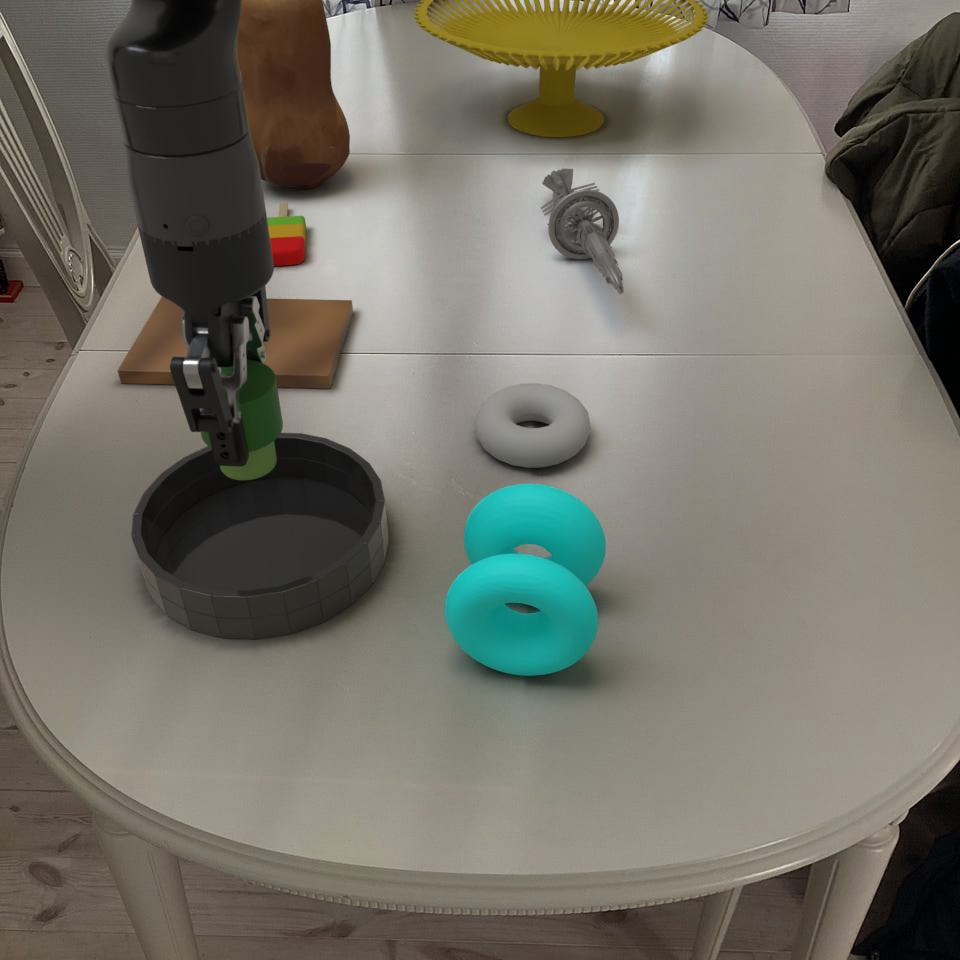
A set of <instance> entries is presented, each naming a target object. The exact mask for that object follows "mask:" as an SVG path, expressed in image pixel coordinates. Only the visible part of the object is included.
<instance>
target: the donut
mask: <svg viewBox="0 0 960 960" xmlns="http://www.w3.org/2000/svg"><path fill="white" fill-rule="evenodd" d="M524 422H539V423H544V424H546V425H545V426H542V427H525V426H521V425H518V424H520V423H524ZM474 426H475V427H474V428H475V436H476V438H477V439H478V441H479V443H480V444H481V446H482V448H483V449H484V450H485V451H486V452H487V453H489V454H490V455H491V456H492V457H494V458H495V459H497V460H498V461H501V462H503V463H506V464H508V465H511V466H514V467H519V468H526V469H536V468H537V469H538V468H540V469H541V468H547V467H552V466H555V465H559V464H560V465H561V464H562V463H564V462H566V461H568V460H570V459H571V458H573V457H575V456H576V455H577V454H578V453H579V452H580V451H581V450H582V449H583V448H584V447H585V445H586V444H587V441H588V438H589V435H590V432H591V429H592V428H591V427H592V426H591V420H590V417H589V412H588V410H587V408H586V407H585V405H583V403H582V402H581V400H580V399H579V398H577V397H576V396H574V395H573V394H571V393H570V392H568V391H567V390H565V389H563V388H560V387H557V386H554V385H550V384H545V383H544V384H543V383H537V382H535V383H532V382H531V383H529V382H528V383H518V384H514V385H509V386H506V387H504V388H501V389H499V390H497V391H496V392H494V393H492V394H490V396H488V397H487V398H486V399H485V400H484V401H483V402H482V403H481V405H480V407H479V409H478V410H477V413H476V415H475V419H474Z"/></svg>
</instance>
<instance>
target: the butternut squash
mask: <svg viewBox="0 0 960 960" xmlns="http://www.w3.org/2000/svg"><path fill="white" fill-rule="evenodd" d="M237 53H238V60H239V65H240V70H241V76H242V84H243V91H244V97H245V104H246V111H247V118H248V124H249V129H250V134H251V138H252V142H253V146H254V149H255V152H256V155H257V159H258V163H259V168H260V174H261V181H263V182H266V183H268V184H270V185H272V186H275V187H278V188H295V189H298V190H303V191H307V190H311V189H313V188H317V187H321V186H322V185H323V184H325V182H327V181H328V180H329V179H330V178H332V177H333V176H334V175H335V174H336V173H337V172H339V171H340V170H341V169H342V167H343V166H344V165H345V163H346V162H347V160H348V158H349V156H350V153H351V152H350V151H351V150H350V149H351V148H350V144H351V143H350V142H351V135H350V128H349V125H348V121H347V118H346V116H345V113H344V111H343V109H342V107H341V105H340V103H339V101H338V99H337V97H336V95H335V92H334V90H333V89H334V88H333V85H332V84H333V83H332V43H331V36H330V29H329V25H328V19H327V16H326V10H325V6H324V2H323V0H242V7H241V17H240V25H239V33H238V45H237Z"/></svg>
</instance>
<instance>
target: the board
mask: <svg viewBox="0 0 960 960" xmlns="http://www.w3.org/2000/svg"><path fill="white" fill-rule="evenodd" d="M353 306H354V305H353V300H352V299H315V298H314V299H313V298H310V299H309V298H267V308H268V318H269V328H270V331H271V335H270V338H269V341H268V342H263V345H264V348H265V351H266V358H265V362H264V363H263V364H265V365H267V366H269V367H270V368H271V369H272V370H273V372H274V373H275V376H276V382H277V388H287V389H288V388H289V389H290V388H293V389H294V388H295V389H297V388H298V389H328V390H329V389H331V387H332V384H333V381H334V377H335V374H336V371H337V367H338V364H339V361H340V357H341V354H342V350H343V348H344V344H345V341H346V338H347V334H348V330H349V328H350V324H351V321H352V318H353V314H354V307H353ZM184 314H185V312H184V311H183V309H181V308H180V307H179V306H178V305H176V304H175V303H173V302H171V301H170V300H167V299H165V298H164V297H162V296H161V297H160V299H159V300H158V302H157V304H156V306H155V307H154V309H153V310H152V312H151V314H150V316H149V317H148V319H147V320H146V322H145V323H144V326H143V327H142V329H141V331H140V332H139V333H138V335H137V337H136V338H135V340H134V342H133V344H132V345H131V347H130V349H129V350H128V352H127V354H126V356H125V357H124V358H123V360H122V362H121V364H120V365H119V366H118V369H117V373H118V377H119V381H120V383H121V384H130V385H131V384H133V385H141V384H142V385H169V386H171V385H172V386H175V383H174V380H173V377H172V374H171V370H170V364H171V360H172V358H173V357H186V356H187V345H186V343H185V342H184V340H183V335H182V319H183V316H184Z"/></svg>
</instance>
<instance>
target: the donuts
mask: <svg viewBox="0 0 960 960" xmlns="http://www.w3.org/2000/svg"><path fill="white" fill-rule="evenodd" d="M523 545H524V546H525V545H532V546H537V547H540V548H541V549H544V550H545V551H546V552H548V553H549V554H550V556H546V557H541V556H538V555H534V554H533V555H532V554H528V553H527V554H526V553H522V552H519V551H517V550H516V549H515V548H517V547H519V546H523ZM463 546H464V550H465V554H466V557H467V559H468V561H469V563H470V565H469V566H467V567H466V568H465V569H464V570H463V571H461V572H460V573H459V574H458V575H457V577H456V578H455V579H454V580H453V581H452V583H451V585H450V587H449V589H448V591H447V594H446V596H445V603H444V616H445V622H446V623H445V624H446V626H447V628H448V631H449V633H450V635H451V636H452V639H453V640H454V641H455V643H456V644H457V645H458V647H460V649H462V651H463V652H465V653H466V654H467V655H468V656H469V657H470V658H472V659H473V660H475V661H477V662H478V663H480V664H482V665H483V666H486V667H488V668H490V669H492V670H495V671H498V672H501V673H505V674H510V675H513V676H526V677H537V676H544V675H550V674H553V673H556V672H560V671H563V670H565V669H567V668H569V667H571V666H573V665H574V664H576V663H578V662H579V661H580V660H581V659H582V658H583V657H584V656H585V655H586V654H587V653H588V652H589V650H590V649H591V647H592V646H593V644H594V641H595V640H596V637H597V633H598V628H599V614H598V608H597V604H596V602H595V600H594V598H593V596H592V594H591V592H590V590H589V588H588V587H587V586H588V585H589V584H590V583H591V582H592V581H593V580H594V579H595V578H596V576H597V575H598V574H599V572H600V570H601V568H602V566H603V564H604V561H605V557H606V551H607V550H606V549H607V541H606V536H605V532H604V529H603V527H602V523H601V522H600V519H598V517H597V516H596V514H595V513H594V511H593V510H592V509H591V508H590V507H589V506H588V505H587V504H586V503H585V502H583V501H582V500H581V499H580V498H578V497H577V496H575V495H574V494H572V493H570V492H568V491H566V490H563V489H561V488H559V487H555V486H551V485H548V484H542V483H541V484H540V483H516V484H511V485H506V486H504V487H501V488H499V489H496V490H494V491H492V492H490V493H488V494H487V495H485V497H483V498H482V499H480V500H479V501H478V502H477V504H476V505H475V506H474V507H473V508H472V510H471V511H470V513H469V515H468V517H467V519H466V522H465V525H464V529H463ZM511 603H512V604H513V603H515V604H524V605H528V606H530V607H534V608H536V609H537V610H538V611H536V612H529V613H527V612H526V613H525V612H520V611H516V610H514V609H512V608H510V607H509V606H508V605H506V604H511Z"/></svg>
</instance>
